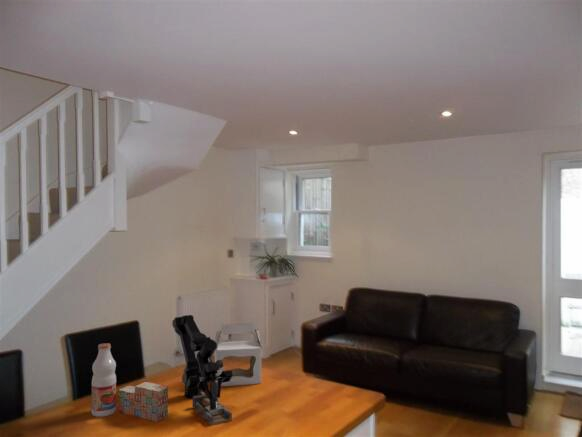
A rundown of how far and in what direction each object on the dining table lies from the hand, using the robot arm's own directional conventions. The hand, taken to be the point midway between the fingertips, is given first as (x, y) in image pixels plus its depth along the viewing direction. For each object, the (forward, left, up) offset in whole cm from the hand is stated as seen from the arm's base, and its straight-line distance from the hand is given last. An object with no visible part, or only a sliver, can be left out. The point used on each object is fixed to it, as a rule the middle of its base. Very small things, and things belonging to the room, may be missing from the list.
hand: (215, 398), depth 189 cm
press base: (-3, +2, -8) cm, 9 cm away
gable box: (-13, +42, -8) cm, 45 cm away
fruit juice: (-45, -14, -8) cm, 47 cm away
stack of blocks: (-29, -9, -8) cm, 31 cm away
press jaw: (-1, +1, -6) cm, 6 cm away
